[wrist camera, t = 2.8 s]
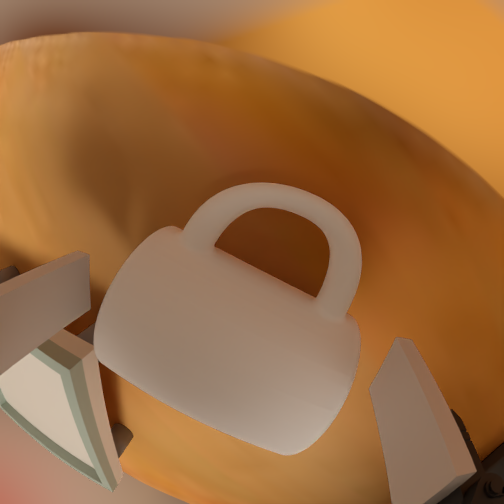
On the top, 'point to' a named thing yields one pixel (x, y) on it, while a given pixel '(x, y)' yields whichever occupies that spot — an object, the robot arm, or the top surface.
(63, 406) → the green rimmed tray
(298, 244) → the top surface
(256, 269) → the mug
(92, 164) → the top surface
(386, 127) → the top surface
